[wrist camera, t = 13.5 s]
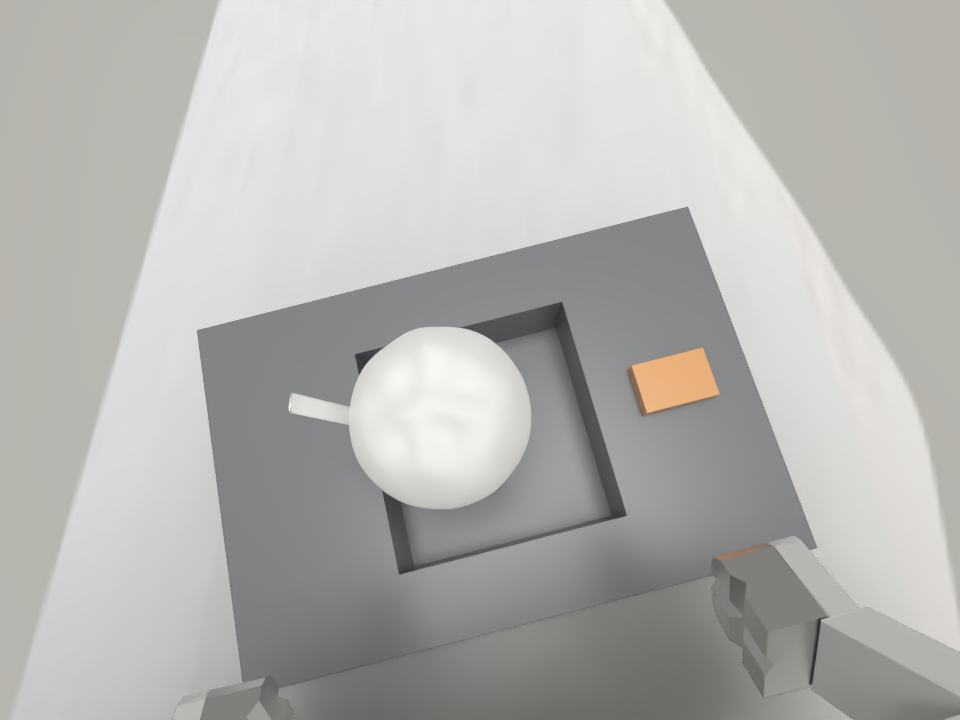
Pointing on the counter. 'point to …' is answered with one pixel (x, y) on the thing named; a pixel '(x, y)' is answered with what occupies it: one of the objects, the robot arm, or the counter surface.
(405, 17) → the counter surface
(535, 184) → the counter surface
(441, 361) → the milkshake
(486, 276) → the dock
